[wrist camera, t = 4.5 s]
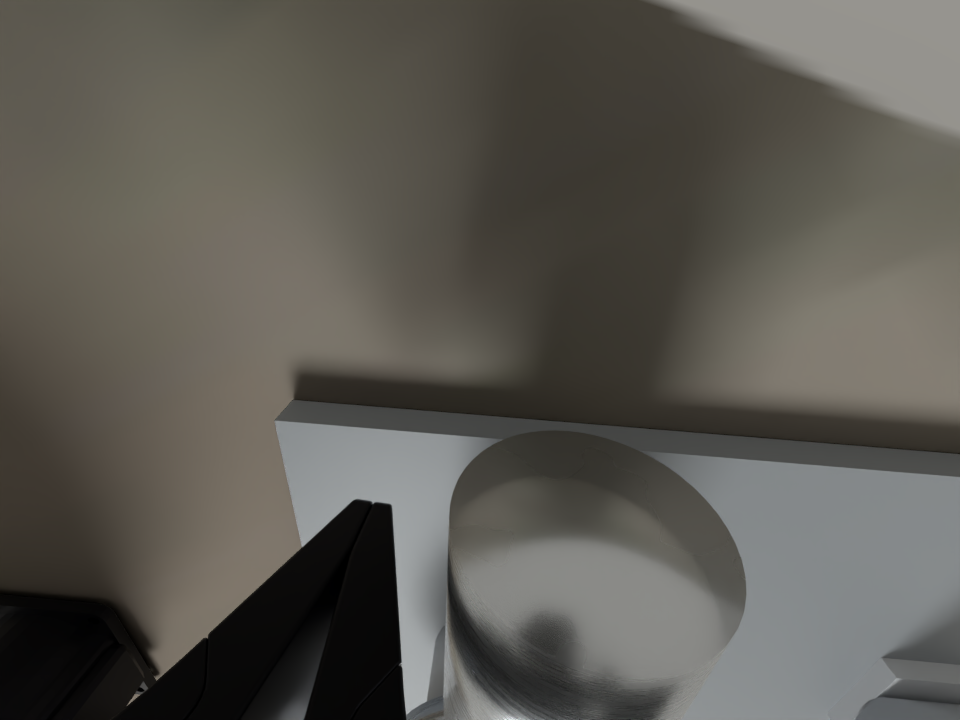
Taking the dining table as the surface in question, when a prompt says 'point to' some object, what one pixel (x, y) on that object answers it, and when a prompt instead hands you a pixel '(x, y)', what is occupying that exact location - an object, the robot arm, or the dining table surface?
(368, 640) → the robot arm
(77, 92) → the dining table surface
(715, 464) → the grey plate with knobs
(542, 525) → the elbow
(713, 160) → the dining table surface
